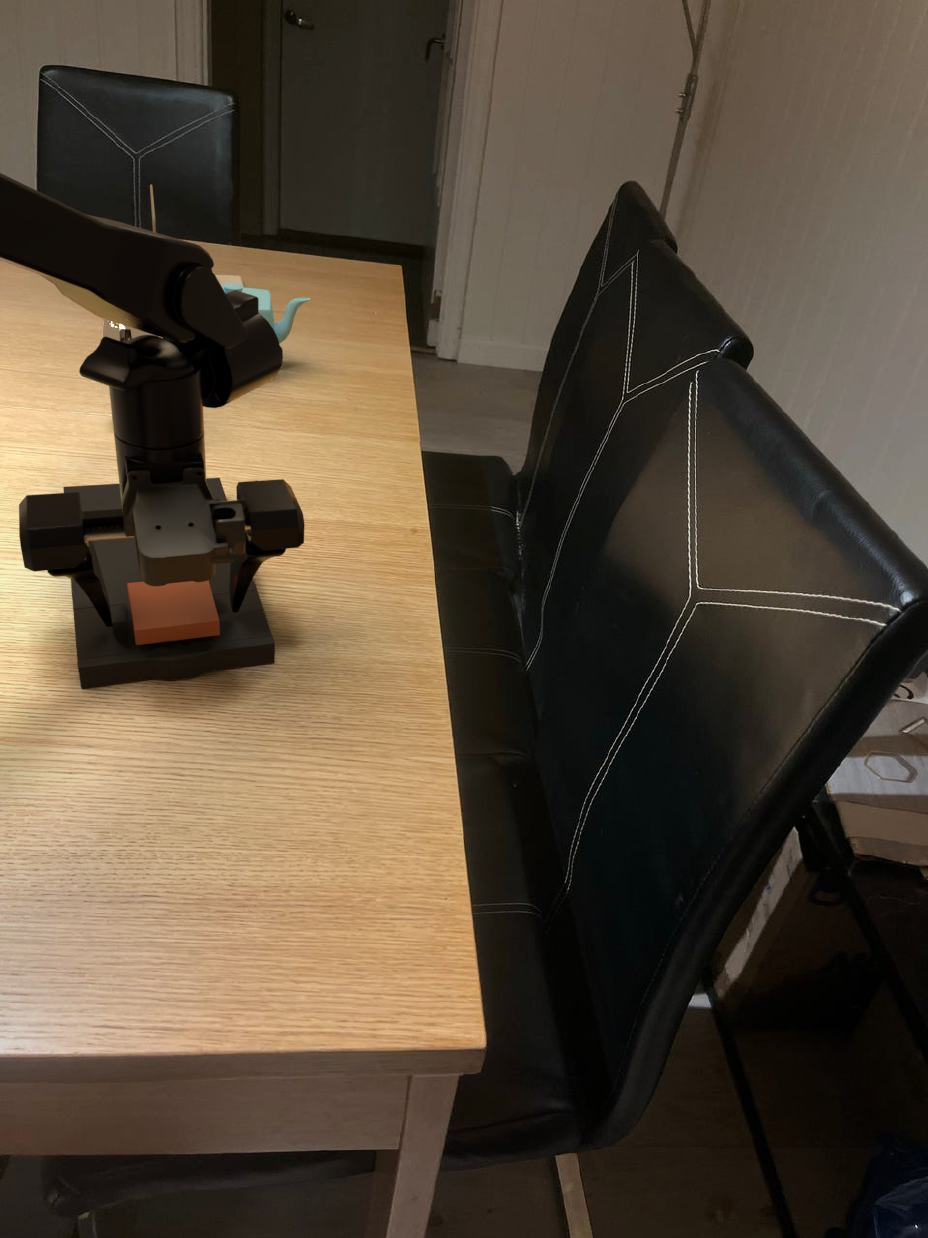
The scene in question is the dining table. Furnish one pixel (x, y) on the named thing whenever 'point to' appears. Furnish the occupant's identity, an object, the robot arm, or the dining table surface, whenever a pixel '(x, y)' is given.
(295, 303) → the teapot
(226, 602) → the back pad
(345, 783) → the dining table surface
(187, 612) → the reddish orange rectangular block
